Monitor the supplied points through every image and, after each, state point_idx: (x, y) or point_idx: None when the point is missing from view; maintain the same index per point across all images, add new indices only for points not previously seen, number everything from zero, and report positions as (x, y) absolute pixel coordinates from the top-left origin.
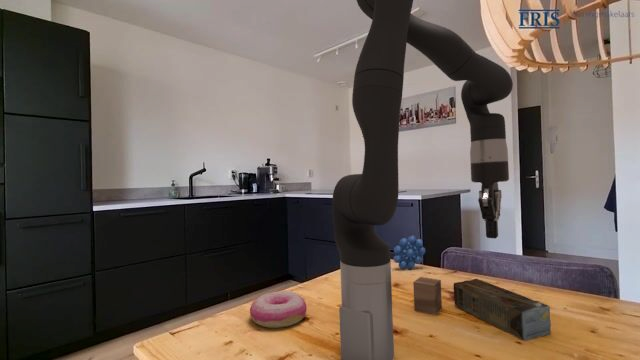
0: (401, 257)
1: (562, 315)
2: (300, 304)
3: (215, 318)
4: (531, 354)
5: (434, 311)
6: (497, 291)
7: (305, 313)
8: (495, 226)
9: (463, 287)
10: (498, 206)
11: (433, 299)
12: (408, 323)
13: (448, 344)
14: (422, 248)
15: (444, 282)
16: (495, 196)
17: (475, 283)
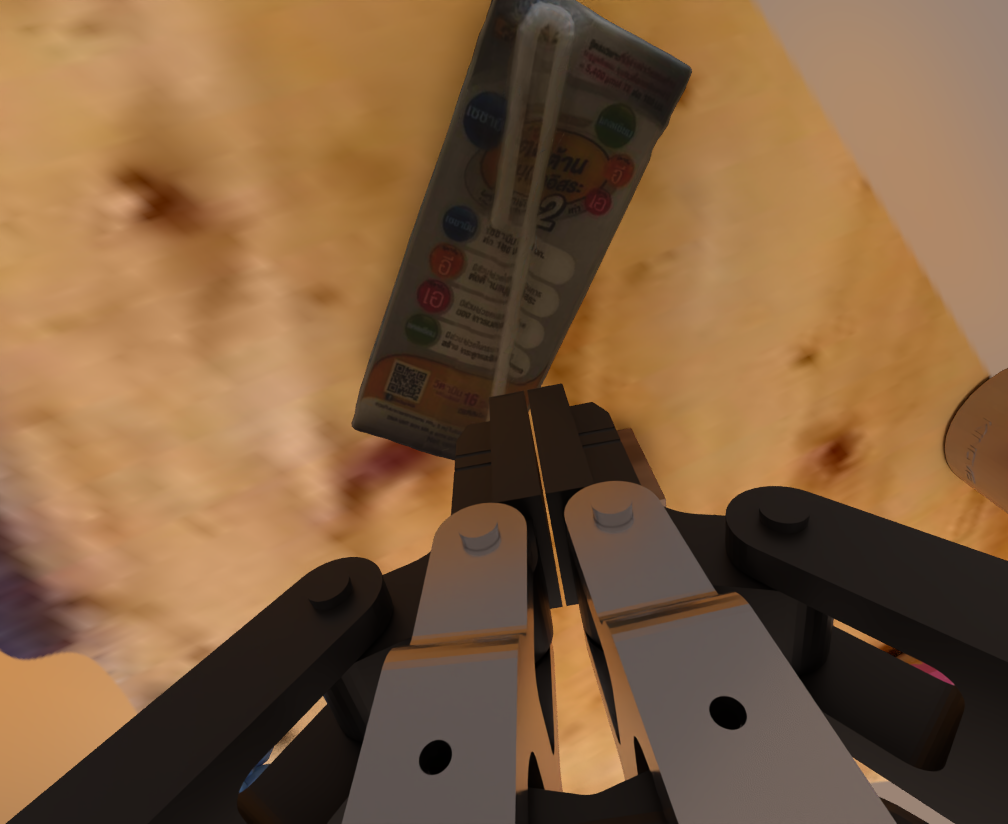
0: (250, 783)
1: (214, 11)
2: None
3: None
4: (760, 11)
5: (634, 437)
6: (476, 275)
7: (912, 661)
8: (586, 457)
9: None
10: (733, 680)
11: (646, 465)
12: (754, 454)
13: (841, 286)
14: None
15: (262, 563)
16: None
17: (448, 399)
